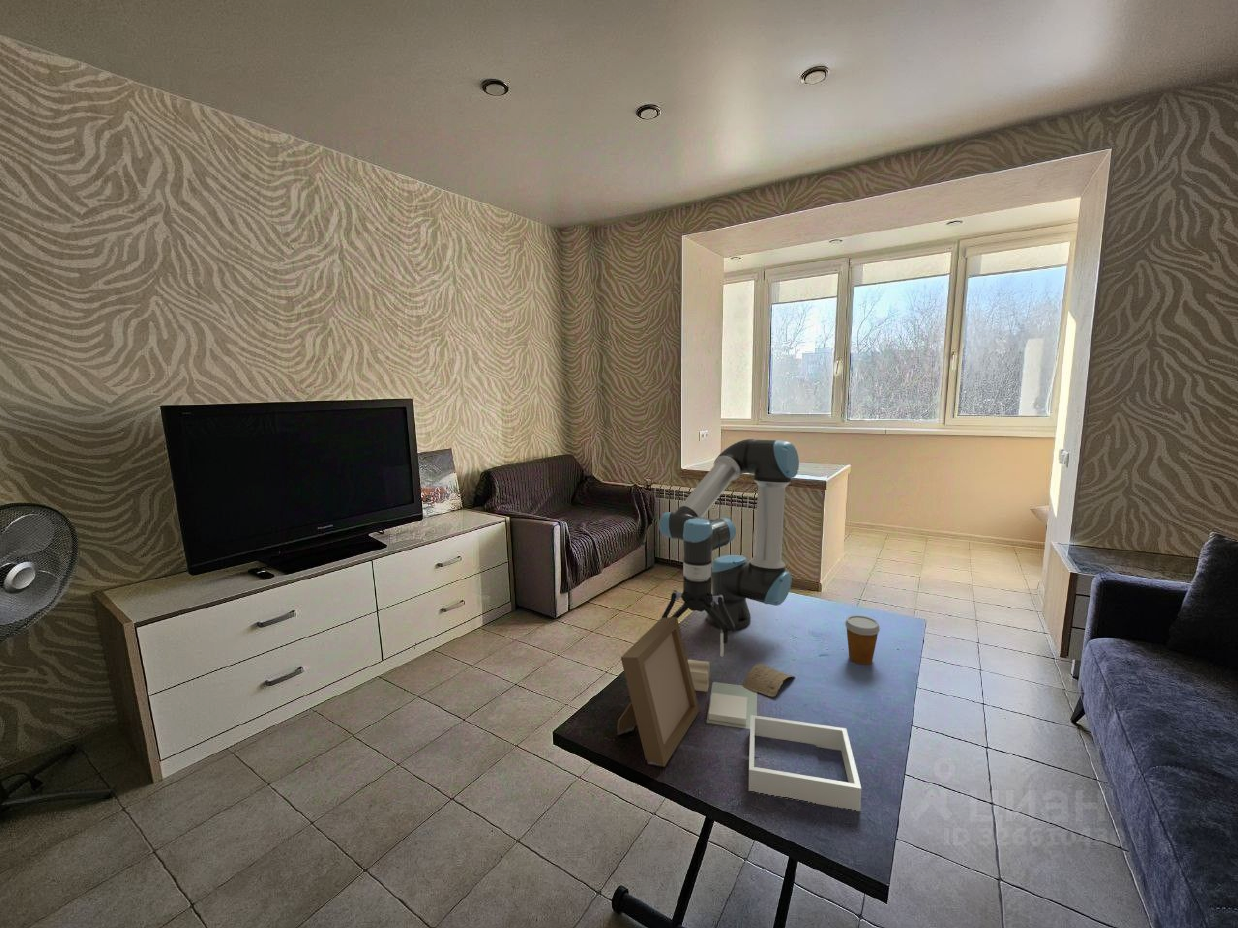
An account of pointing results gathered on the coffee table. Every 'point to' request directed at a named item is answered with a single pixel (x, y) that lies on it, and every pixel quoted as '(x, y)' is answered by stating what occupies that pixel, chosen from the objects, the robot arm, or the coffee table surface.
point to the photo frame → (659, 690)
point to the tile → (728, 708)
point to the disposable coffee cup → (861, 638)
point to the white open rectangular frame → (801, 784)
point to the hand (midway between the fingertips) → (696, 650)
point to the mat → (736, 691)
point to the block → (699, 674)
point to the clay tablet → (764, 680)
